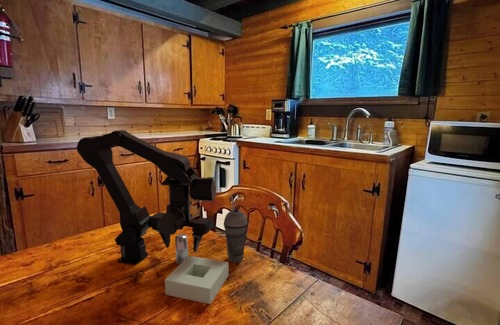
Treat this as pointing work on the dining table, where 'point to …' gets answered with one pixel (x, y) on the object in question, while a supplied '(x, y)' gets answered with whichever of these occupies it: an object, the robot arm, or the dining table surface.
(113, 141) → the robot arm
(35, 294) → the dining table surface
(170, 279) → the socket block
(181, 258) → the peg
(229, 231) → the beverage cup
